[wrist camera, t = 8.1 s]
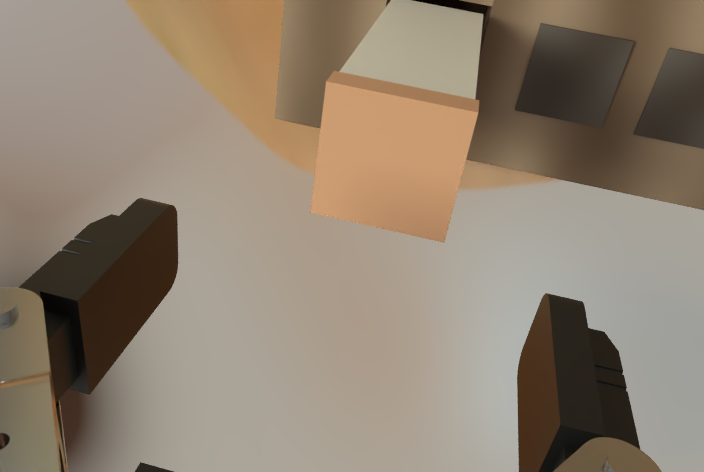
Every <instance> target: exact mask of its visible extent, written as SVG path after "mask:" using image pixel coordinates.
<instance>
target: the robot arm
mask: <svg viewBox="0 0 704 472" xmlns="http://www.w3.org/2000/svg"><path fill="white" fill-rule="evenodd" d="M177 234H178V233H177V211H176V208H175V207H174V206H173V205H169V204H164V203H160V202H156V201H151V200H147V199H143V198H139V199H137V200H136V201H135V202H134V203H133V204H132V205H131V206H129V207H128V208H127V209H126V210H125V211H124V212H123V213H122V214H121V215H120V216H116V215H109V216H107V217H104V218H102V219H100V220H98V221H96V222H93V223H91V224H89V225H88V226H87V227H86V228H85V229H83V230H82V231H81V232H80V233H79V234H78V235H77V236H76V237H75V239H74V240H71V241H70V242H69V243H68V244H67V245H66V246H64V247H63V249H62V251H59V252H58V253H57V254H56V255H54V256H53V257H52V258H51V259H50V260H49V261H48V262H47V263H45V264H44V265H43V266H42V267H41V268H40V269H39V270H38V271H36V272H35V273H34V274H33V275H32V276H31V277H30V278H29V279H28V280H26V281H25V282H24V283H23V284H22V285H21V286H20V287H19V288H15V287H10V288H9V287H6V288H0V472H68V467H67V459H66V450H65V442H64V434H63V425H62V417H61V409H60V403H59V400H60V398H61V397H62V396H63V395H64V394H65V392H66V391H67V390H68V389H71V390H75V391H79V392H82V393H86V394H91V392H92V391H93V390H94V388H95V387H96V386H97V384H98V383H99V382H100V381H101V379H102V378H103V377H104V375H105V374H106V373H107V371H108V370H109V369H110V368H111V366H112V365H113V364H114V362H115V361H116V360H117V358H118V357H119V356H120V355H121V353H122V352H123V351H124V349H125V348H126V347H127V345H128V344H129V343H130V342H131V340H132V339H133V338H134V336H135V335H136V334H137V332H138V331H139V330H140V329H141V327H142V326H143V325H144V323H145V322H146V321H147V319H148V318H149V317H150V316H151V314H152V313H153V312H154V310H155V309H156V308H157V306H158V305H159V304H160V303H161V301H162V300H163V299H164V297H165V296H166V295H167V293H168V292H169V291H170V289H171V287H172V285H173V283H174V280H175V278H176V274H177V269H178V235H177ZM622 373H623V369H622V365H621V360H620V356H619V351H618V350H617V349H616V348H615V346H614V345H613V343H612V342H611V340H610V339H609V338H608V336H607V335H606V334H605V332H602V331H598V330H593V329H590V328H588V324H587V318H586V312H585V307H584V304H583V302H582V301H577V300H573V299H569V298H564V297H560V296H556V295H551V294H545V295H544V296H543V298H542V300H541V302H540V305H539V307H538V310H537V313H536V315H535V318H534V320H533V323H532V326H531V328H530V331H529V334H528V336H527V339H526V342H525V344H524V347H523V349H522V353H521V356H520V361H519V366H518V375H517V384H518V385H517V386H518V436H519V437H518V440H519V441H518V442H519V472H661V470H660V469H659V467H658V466H657V465H656V463H655V462H654V461H653V460H652V459H651V458H650V457H649V456H648V455H646V454H645V453H644V452H643V451H641V450H640V446H639V442H638V437H637V433H636V428H635V423H634V419H633V415H632V410H631V405H630V401H629V397H628V392H627V391H626V388H627V387H626V383H625V378H624V375H622ZM135 472H173V471H169V470H166V469H162V468H158V467H155V466H151V465H148V464H144V463H140V464H139V466H138V467H137V469H136V471H135Z"/></svg>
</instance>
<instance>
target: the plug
mask: <svg viewBox="0 0 704 472" xmlns="http://www.w3.org/2000/svg"><path fill="white" fill-rule="evenodd" d="M482 24H483V14H480V13H475V12H470V11H465V10H459V9H454V8H449V7H444V6H438V5H433V4H428V3H423V2H417V1H412V0H391V1H390V2H389V4H388V5H387V6H386V8H385V9H384V10H383V12H382V13H381V15H380V16H379V17H378V19H377V20H376V22H375V23H374V24H373V26H372V27H371V28H370V30H369V31H368V33H367V34H366V35H365V37H364V38H363V40H362V41H361V42H360V44H359V45H358V47H357V48H356V49H355V51H354V52H353V53H352V55H351V56H350V58H349V59H348V60H347V62H346V63H345V65H344V66H343V67H342V69H341V70H340V71H339V72H338V71H334V72H333V73H332V74H331V76H330V77H329V78H328V80H327V81H326V87H325V95H324V103H323V112H322V120H321V128H320V136H319V145H318V153H317V161H316V170H315V178H314V186H313V194H312V203H311V211H310V212H311V213H315V214H320V215H325V216H329V217H333V218H338V219H342V220H347V221H351V222H355V223H360V224H364V225H369V226H374V227H377V228H382V229H387V230H391V231H395V232H400V233H404V234H409V235H413V236H418V237H422V238H426V239H431V240H435V241H440V242H444V241H445V237H446V233H447V230H448V226H449V222H450V219H451V215H452V211H453V207H454V203H455V199H456V196H457V192H458V188H459V184H460V181H461V177H462V173H463V169H464V165H465V162H466V158H467V154H468V150H469V146H470V143H471V139H472V135H473V131H474V127H475V124H476V120H477V116H478V111H479V100H475V97H476V87H477V76H478V66H479V55H480V45H481V35H482Z"/></svg>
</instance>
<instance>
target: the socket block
mask: <svg viewBox="0 0 704 472" xmlns="http://www.w3.org/2000/svg"><path fill="white" fill-rule="evenodd" d="M390 1H391V0H284V11H283V23H282V36H281V49H280V62H279V74H278V87H277V100H276V113H275V119H278V120H283V121H288V122H292V123H297V124H302V125H307V126H311V127H316V128H321V120H322V112H323V103H324V95H325V87H326V81H327V80H328V78H329V77H330V76H331V74H332V73H333V72H334V71H338V72H339V71H340V70H341V69H342V67H343V66H344V65H345V63H346V62H347V60H348V59H349V58H350V56H351V55H352V53H353V52H354V51H355V49H356V48H357V47H358V45H359V44H360V42H361V41H362V40H363V38H364V37H365V35H366V34H367V33H368V31H369V30H370V28H371V27H372V26H373V24H374V23H375V22H376V20H377V19H378V17H379V16H380V15H381V13H382V12H383V10H384V9H385V8H386V6H387V5H388V4H389V2H390ZM461 1H466V2H472V3H477V4H482V5H487V10H486V14H485V18H484V22H483V26H482V35H481V45H480V55H479V66H478V76H477V87H476V97H475V100H479V111H478V116H477V120H476V124H475V127H474V131H473V135H472V139H471V143H470V146H469V150H468V154H467V158H466V160H471V161H476V162H481V163H485V164H490V165H495V166H499V167H504V168H509V169H513V170H518V171H523V172H528V173H532V174H537V175H542V176H546V177H551V178H556V179H561V180H565V181H570V182H575V183H579V184H584V185H589V186H594V187H599V188H603V189H608V190H612V191H617V192H622V193H626V194H631V195H636V196H641V197H645V198H650V199H655V200H659V201H664V202H669V203H673V204H678V205H683V206H687V207H692V208H697V209H702V210H704V0H461Z"/></svg>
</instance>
